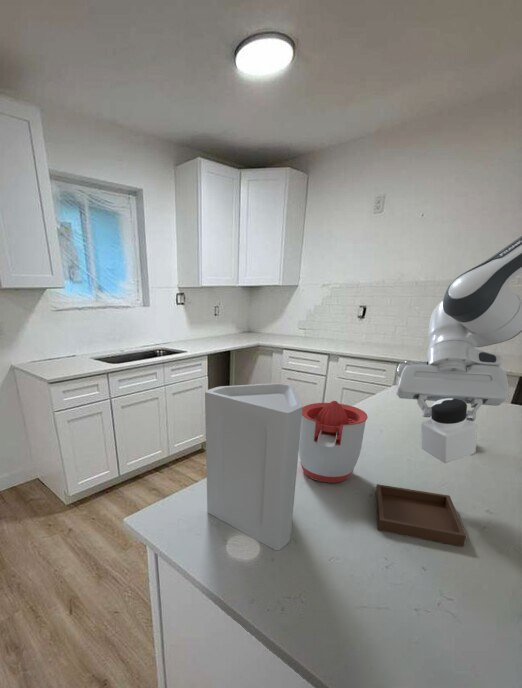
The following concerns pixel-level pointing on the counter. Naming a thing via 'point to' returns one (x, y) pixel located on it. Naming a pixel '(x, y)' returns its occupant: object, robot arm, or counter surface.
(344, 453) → the citrus juicer
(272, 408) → the triangular white caddy
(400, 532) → the tray
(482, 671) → the counter surface
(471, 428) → the medicine bottle
